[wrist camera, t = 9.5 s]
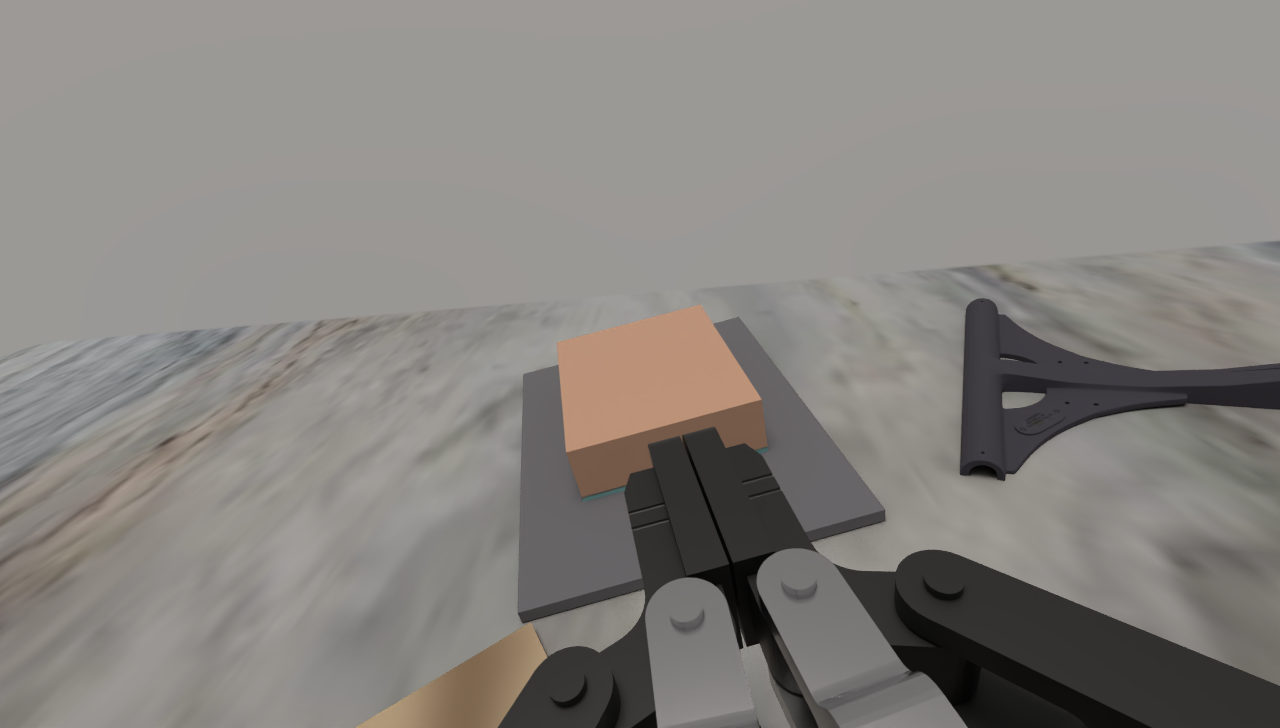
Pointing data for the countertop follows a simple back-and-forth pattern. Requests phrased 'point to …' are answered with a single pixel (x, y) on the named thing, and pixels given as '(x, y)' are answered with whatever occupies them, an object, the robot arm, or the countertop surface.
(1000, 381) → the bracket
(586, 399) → the tile
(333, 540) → the countertop surface
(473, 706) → the turner
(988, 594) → the robot arm
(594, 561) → the mat
